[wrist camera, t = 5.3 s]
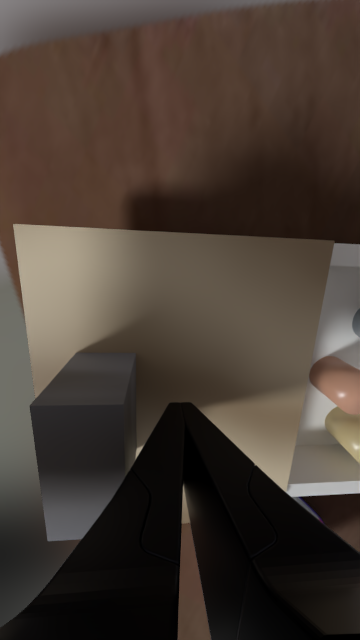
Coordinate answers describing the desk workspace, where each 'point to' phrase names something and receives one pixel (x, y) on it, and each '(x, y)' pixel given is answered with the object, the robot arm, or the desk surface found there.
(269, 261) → the lid
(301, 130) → the desk surface
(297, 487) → the white storage tray
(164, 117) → the desk surface
